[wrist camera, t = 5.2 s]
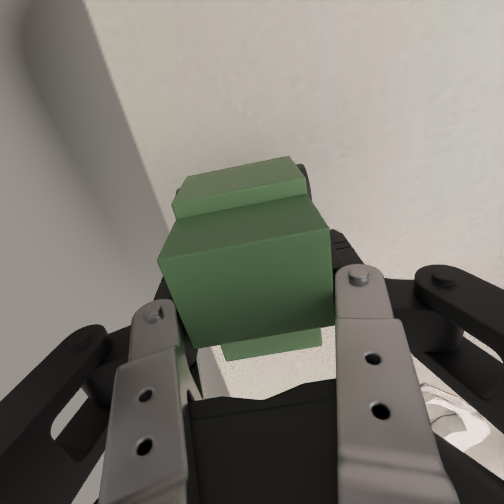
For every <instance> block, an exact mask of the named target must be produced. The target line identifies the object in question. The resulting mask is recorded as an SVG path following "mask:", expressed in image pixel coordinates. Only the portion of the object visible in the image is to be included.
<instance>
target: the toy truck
mask: <svg viewBox="0 0 504 504" xmlns="http://www.w3.org/2000/svg"><path fill="white" fill-rule="evenodd" d="M171 205H172V208H173V211H174V214H175V217H176V221H175V223H174V225H173V227H172V230H171V232H170V234H169V236H168V238H167V240H166V242H165V244H164V247H163V249H162V251H161V253H160V255H159V257H158V259H157V262H158V265H159V267H160V269H161V271H162V274H163V276H164V279H165V281H166V284H167V286H168V288H169V291H170V293H171V296H172V298H173V300H174V303H175V305H176V308H177V310H178V312H179V315H180V317H181V319H182V322H183V324H184V327H185V329H186V331H187V334H188V336H189V339H190V341H191V343H192V346H193V348H194V349H198V348H204V347H210V346H216V345H221V348H222V351H223V354H224V357H225V360H226V361H233V360H239V359H245V358H251V357H257V356H263V355H269V354H275V353H281V352H287V351H293V350H299V349H306V348H312V347H318V346H322V337H321V328H322V327H328V326H334V325H335V306H334V291H333V275H332V260H331V244H330V229H329V227H328V225H327V224H326V222H325V221H324V219H323V218H322V216H321V215H320V213H319V211H318V210H317V208H316V207H315V205H314V204H313V202H312V197H311V189H310V183H309V179H308V175H307V172H306V169H305V167H304V165H303V164H297V165H296V164H295V163H294V162H293V160H292V159H291V158H290V156H285V157H280V158H276V159H271V160H266V161H261V162H256V163H251V164H246V165H242V166H237V167H232V168H227V169H222V170H217V171H212V172H207V173H203V174H198V175H193V176H188V177H187V178H186V179H185V181H184V183H183V184H182V186H181V188H179V189H178V190H177V191H176V197H175V198H174V200H173V202H172V204H171Z"/></svg>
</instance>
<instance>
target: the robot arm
mask: <svg viewBox="0 0 504 504" xmlns="http://www.w3.org/2000/svg"><path fill="white" fill-rule="evenodd" d="M330 244H331V260H332V275H333V291H334V306H335V341H336V378H335V379H329V380H323V381H316V382H310V383H304V384H301V385H299V386H296V387H294V388H292V389H289V390H287V391H285V392H282V393H280V394H277V395H275V396H273V397H270V398H268V399H265V400H253V399H243V398H233V397H216V398H210V399H206V395H205V390H204V384H203V379H202V374H201V369H200V364H199V361H198V358H197V352H198V349H194V348H193V346H192V343H191V341H190V339H189V336H188V334H187V331H186V329H185V327H184V324H183V322H182V319H181V317H180V315H179V312H178V310H177V308H176V305H175V303H174V300H173V298H172V296H171V293H170V291H169V288H168V286H167V284H166V281H165V279H164V276H163V278H162V280H161V283H160V285H159V288H158V290H157V293H156V295H155V298H154V300H153V301H152V302H149V303H147V304H146V305H144V306H142V307H141V308H140V309H139V310H138V311H137V312H136V313H135V314H134V316H133V318H132V322H131V325H130V326H128V327H125V328H122V329H120V330H117V331H115V332H112V333H110V334H108V333H107V331H106V330H105V328H104V327H103V326H102V325H98V324H95V325H89V326H86V327H83V328H81V329H79V330H77V331H75V332H73V333H72V334H71V335H69V336H68V337H67V338H66V339H65V340H63V341H62V342H61V343H60V344H59V345H58V346H57V347H56V348H55V349H54V350H53V351H52V352H51V353H50V354H49V355H48V356H47V357H46V358H45V359H44V360H43V361H42V362H41V363H40V364H39V365H38V366H37V367H36V368H34V369H33V370H32V371H31V372H30V373H29V374H28V375H27V376H26V377H25V378H24V379H23V380H22V381H21V382H20V383H19V384H18V385H17V386H16V387H15V388H14V389H13V390H12V391H11V392H10V393H9V394H8V395H7V396H6V397H5V398H4V399H3V400H2V401H0V504H71V503H72V501H73V500H74V498H75V497H76V495H77V493H78V492H79V490H80V489H81V487H82V485H83V484H84V482H85V481H86V479H87V478H88V476H89V474H90V473H91V471H92V470H93V468H94V467H95V465H96V463H97V462H98V460H99V459H100V457H101V455H102V454H103V452H104V451H105V455H104V463H103V470H102V477H101V485H100V493H99V498H98V499H97V500H96V501H95V502H94V504H504V480H502V479H501V478H499V477H498V476H496V475H495V474H494V473H492V472H491V471H489V470H488V469H486V468H485V467H483V466H482V465H481V464H479V463H478V462H476V461H475V460H473V459H472V458H471V457H469V456H468V455H466V454H465V453H463V452H462V451H461V450H459V449H458V448H456V447H455V446H453V445H452V444H451V443H449V442H448V441H446V440H445V439H443V438H442V437H441V436H439V435H438V434H436V433H435V432H433V430H432V426H431V423H430V419H429V416H428V412H427V409H426V405H425V402H424V398H423V395H422V391H421V388H420V384H419V381H418V377H417V374H416V370H415V367H414V363H413V359H412V356H411V353H412V355H413V356H414V357H416V358H417V359H418V360H419V361H420V362H421V363H422V364H424V365H425V366H426V367H427V368H428V369H429V370H431V371H432V372H433V373H434V374H435V375H436V376H437V377H439V378H440V379H441V380H442V381H443V382H444V383H445V384H447V385H448V386H449V387H450V388H451V389H452V390H454V391H455V392H456V393H457V394H458V395H459V396H460V397H462V398H463V399H464V400H465V401H466V402H467V403H469V404H470V405H471V406H472V407H473V408H474V409H475V410H477V411H478V412H479V413H480V414H481V415H482V416H483V417H485V418H486V419H487V420H488V421H489V422H490V423H492V424H493V425H494V426H495V427H496V428H497V429H498V430H500V431H501V432H502V433H503V434H504V290H503V289H501V288H499V287H497V286H495V285H493V284H490V283H488V282H486V281H484V280H482V279H480V278H478V277H476V276H474V275H472V274H470V273H468V272H465V271H463V270H461V269H459V268H456V267H452V266H447V265H429V266H425V267H422V268H420V269H419V270H417V272H416V273H415V279H414V280H399V279H388V278H384V276H383V274H382V273H381V271H380V270H378V269H377V268H375V267H373V266H370V265H365V264H364V263H363V262H362V260H361V259H360V258H359V256H358V255H357V253H356V252H355V250H354V249H353V248H352V247H351V245H350V243H349V242H348V241H347V239H346V238H345V236H344V235H343V234H342V233H340V232H338V231H336V230H334V229H332V230H330ZM464 331H466V332H467V333H469V334H470V335H472V336H473V337H475V338H476V339H478V340H479V341H481V342H482V343H484V344H486V345H487V346H489V347H490V348H491V349H493V350H494V351H495V352H496V353H497V354H498V355H499V356H500V358H501V359H502V361H503V363H501V362H500V361H498V360H497V359H496V358H494V357H493V356H491V355H490V354H488V353H487V352H485V351H484V350H482V349H481V348H479V347H478V346H476V345H475V344H473V343H472V342H471V341H469V340H468V339H466V338H465V337H463V333H464ZM80 388H82V389H83V391H84V392H85V393H86V394H87V396H88V398H87V400H86V401H85V402H84V404H83V405H82V406H81V407H80V409H79V410H78V411H77V413H76V414H75V415H74V416H73V418H72V419H71V420H70V422H69V423H68V424H67V426H66V427H65V428H64V429H63V430H62V432H61V433H60V434H59V436H58V437H57V438H56V439H55V441H54V440H53V438H52V437H51V433H50V432H51V426H52V423H53V421H54V419H55V418H56V417H57V415H58V414H59V413H60V412H61V410H62V409H63V408H64V407H65V405H66V404H67V403H68V402H69V401H70V399H71V398H72V397H73V396H74V395H75V394H76V392H77V391H78V390H79V389H80Z"/></svg>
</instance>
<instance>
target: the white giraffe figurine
mask: <svg viewBox="0 0 504 504" xmlns="http://www.w3.org/2000/svg"><path fill="white" fill-rule="evenodd" d="M420 388H421V391H423V392H430V393H433V394H436V395H438V396H440V397H442V398H445V399H447V400H449V401H450V402H451V403H452V404H451V403H448V402H446V401H444V400H443V399H440V398H435V396H432V397H430V398H428V399H426V400H424V402H425V403H429V404H438V405H441V406H443V407H446V408H448V409H450V410H452V411H455V412H456V415H451V416H443V417H441V418H439V419H438V420H436V421H435V422H434V423H432V424H431V426H432V430H433V432H435V433H436V434H438V435H439V436H441V437H442V438H443V439H445V440H446V441H448V442H449V443H451V444H452V445H453V446H455V447H456V448H458V449H459V450H461V451H462V452H463V453H464V452H465V451H466V450H467V449H468V448H470V447H472V446H474V445H476V444H478V443H480V442H482V441H483V440H484V439H485V438H486V437H487V436H488V435H489V434H490V433H491V430H490V429H489V427H488V425H487V423H486V422H485V421H484V419H483V418H482V417H481V415H480V414H479V413H478V411H477V410H475V409H474V408H473V407H472V406H470V405H468V404H465V403H463V402H462V401H461V399H460V398H459V397H456V396H453V395H450V394H447V393H445V392H443V391H440V390H438V389H436V388H435V387H431V386H428V385H427V384H425V385H423V386H421V387H420Z"/></svg>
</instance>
